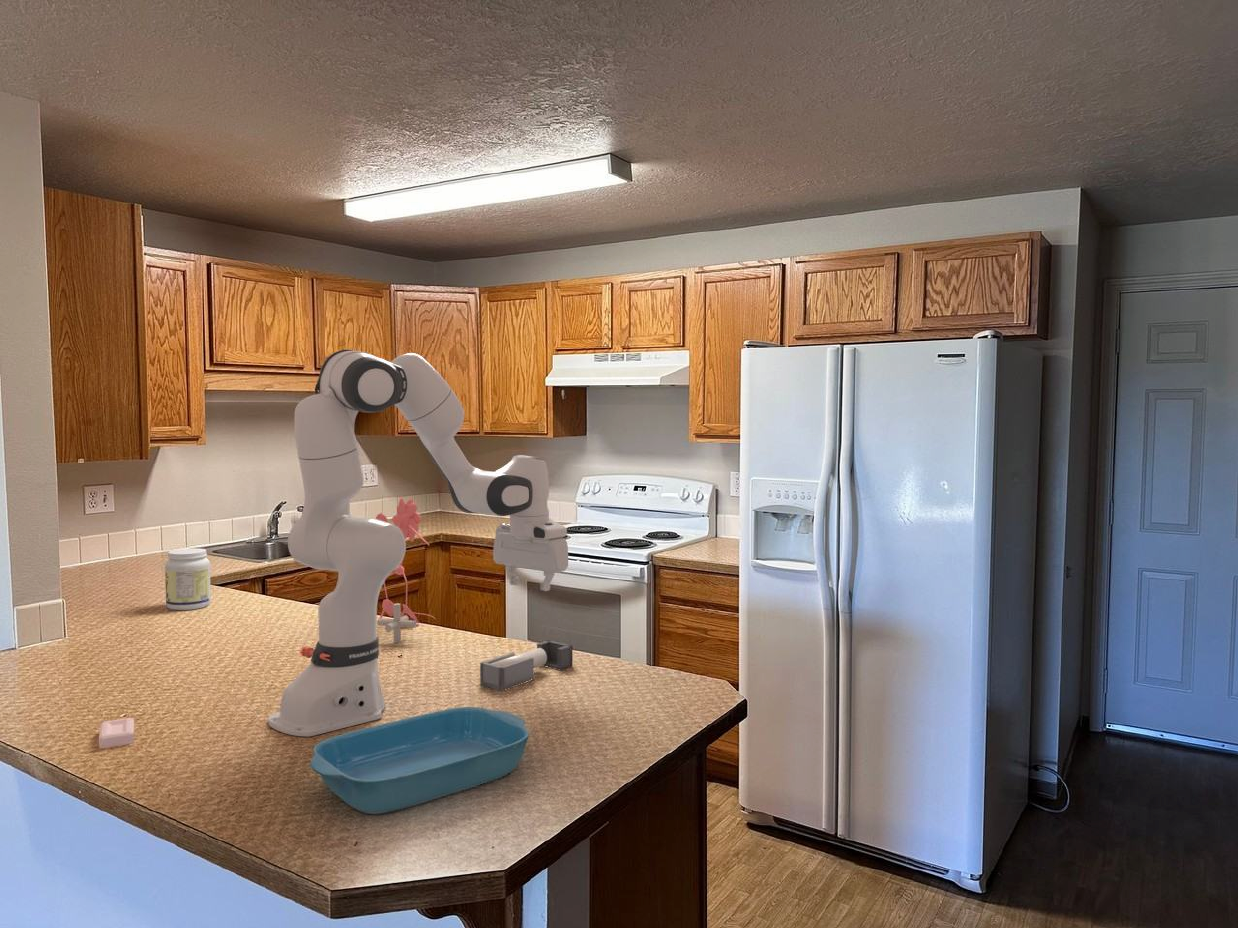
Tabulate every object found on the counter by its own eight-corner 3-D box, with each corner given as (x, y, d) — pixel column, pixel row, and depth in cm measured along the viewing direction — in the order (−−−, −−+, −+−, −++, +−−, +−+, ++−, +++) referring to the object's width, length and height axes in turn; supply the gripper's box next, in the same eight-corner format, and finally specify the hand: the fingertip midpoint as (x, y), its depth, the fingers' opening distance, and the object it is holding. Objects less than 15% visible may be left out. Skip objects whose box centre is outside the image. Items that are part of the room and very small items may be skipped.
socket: (561, 670, 202) (561, 649, 202) (537, 664, 207) (537, 643, 206) (572, 666, 205) (572, 645, 205) (548, 660, 210) (548, 640, 209)
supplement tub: (170, 603, 267) (168, 548, 266) (213, 600, 271) (212, 546, 269) (162, 612, 255) (160, 555, 254) (207, 609, 259) (206, 553, 258)
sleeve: (501, 691, 187) (501, 668, 187) (480, 685, 191) (480, 662, 191) (533, 679, 195) (533, 657, 195) (512, 674, 199) (512, 652, 199)
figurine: (412, 633, 234) (413, 503, 232) (360, 617, 251) (361, 496, 249) (458, 624, 245) (460, 500, 243) (406, 609, 262) (407, 493, 261)
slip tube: (500, 682, 189) (500, 664, 188) (487, 679, 191) (487, 661, 191) (546, 666, 201) (546, 649, 200) (534, 663, 203) (534, 646, 203)
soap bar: (99, 750, 155) (98, 737, 155) (101, 733, 163) (100, 720, 163) (133, 745, 157) (133, 732, 157) (134, 728, 165) (133, 716, 165)
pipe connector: (406, 648, 219) (406, 609, 218) (370, 646, 221) (369, 607, 220) (423, 638, 229) (423, 600, 228) (388, 636, 231) (387, 598, 230)
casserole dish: (483, 732, 164) (483, 695, 164) (554, 770, 148) (555, 729, 147) (287, 788, 140) (286, 745, 139) (346, 841, 123) (346, 792, 123)
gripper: (486, 524, 200) (487, 583, 201) (553, 532, 188) (554, 595, 189) (506, 521, 205) (506, 579, 206) (572, 529, 193) (572, 590, 194)
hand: (529, 587), depth 198 cm, fingers open, 8 cm apart
